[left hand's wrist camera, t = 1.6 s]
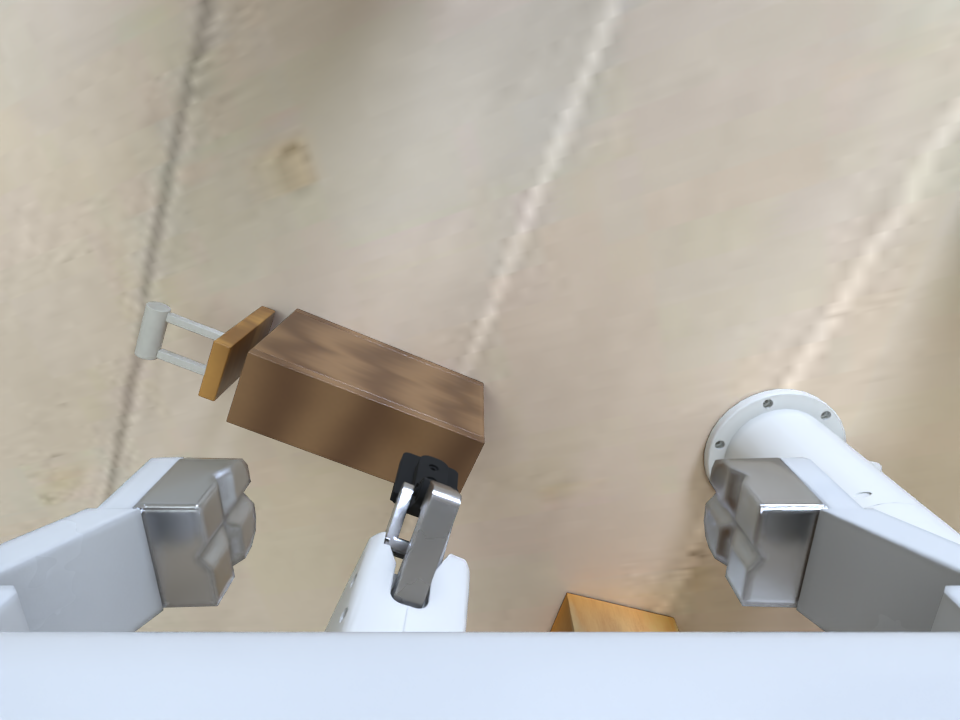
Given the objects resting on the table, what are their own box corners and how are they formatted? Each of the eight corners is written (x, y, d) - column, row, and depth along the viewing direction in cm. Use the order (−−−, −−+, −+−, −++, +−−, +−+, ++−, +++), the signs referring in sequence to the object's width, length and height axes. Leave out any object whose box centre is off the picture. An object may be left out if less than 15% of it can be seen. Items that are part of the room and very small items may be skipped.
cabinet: (278, 365, 51) (225, 421, 41) (297, 308, 50) (247, 351, 39) (459, 434, 54) (454, 505, 43) (483, 382, 52) (484, 443, 41)
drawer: (181, 326, 49) (115, 365, 40) (193, 278, 48) (128, 308, 39) (423, 419, 52) (411, 475, 43) (441, 377, 51) (433, 425, 42)
